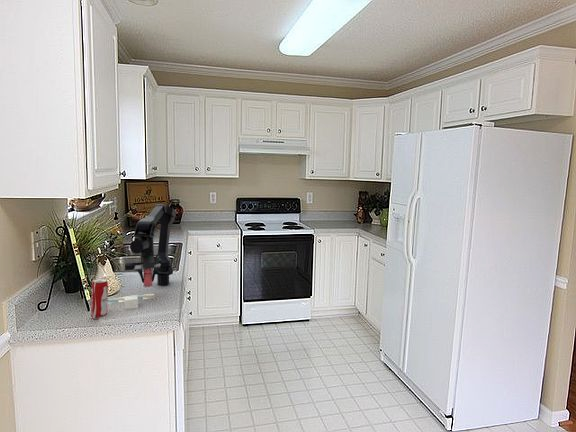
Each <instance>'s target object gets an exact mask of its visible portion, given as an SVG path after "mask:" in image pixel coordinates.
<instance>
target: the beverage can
mask: <svg viewBox="0 0 576 432" xmlns="http://www.w3.org/2000/svg"><path fill="white" fill-rule="evenodd" d="M108 285H109V283H108V280H107V279H106V278H96V279H93V280H92V283H91V294H90V295H91V298H90V299H91V302H90V306H91V307H90V317H91V319H95V320H99V318H101V317H104V316H106V315H108V304H107V299H108V295H109V294H108V292H109V291H108V290H109V286H108Z"/></svg>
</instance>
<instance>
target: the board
mask: <svg viewBox="0 0 576 432" xmlns="http://www.w3.org/2000/svg"><path fill="white" fill-rule="evenodd" d="M136 295H137V294H136ZM124 297H125V296H122V297H115V298H114V297H113V298H107V305H110V304H117V303H125V301H124ZM137 297H138V301H140V300H141V301H142V300H149V299H155V298H156V297H155V294H154V293H147V294H140V295H139V294H138V295H137Z"/></svg>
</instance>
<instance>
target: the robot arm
mask: <svg viewBox="0 0 576 432" xmlns="http://www.w3.org/2000/svg"><path fill="white" fill-rule="evenodd" d="M176 215H177V212H176V210H175V209H174V208H173V207H171V206H168V205H167V204H164V203H163V204H161V203H156V204H155V205H154V208H153V209H152V210H151V211H150V213H148V215H147V216H146V217H142V218H141V219H139V220H138V221H137V223H136V225H135V229H134V231H133V232H134V233H133V239H134V240H132V242H131V243H130V244H129V249H130V251H131V252H132V253H133V254H138V255H139V258H140V259H139V261H137V262H135V260H126V261H124V270H125V271H131V270H133V271H135V272H138V274H139V276H140V279H141V283H143V284H144V275H143V273H144V272H143V270H144V269H147V268H151V272H152V283H153V282H154V280H155V277H157V278H156V279H157V282H156V283H157V285H158V286H160V287H168V286H169V285H170V276H171V275H173V274H174V267H173V265H172V263H171V258H170V257H169V255H168V254H169V242H170V234H171V233H170V232H171V226H172V225H173V224H174V222H175V220H176ZM158 222H159V224H160V227H159V228H160V229H159V236H158V246H157V247H158V249H157V254H156V255H155V254H154V253H155V252H154V251H155V250H154V249H155V248H154V237H155V233H156V230H157V223H158Z"/></svg>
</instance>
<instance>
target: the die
mask: <svg viewBox="0 0 576 432" xmlns="http://www.w3.org/2000/svg"><path fill="white" fill-rule="evenodd" d="M123 297H124V301H125V302H124V309H125V310H134V309H138V308H139V300H138V297H137V294H134V295H126V296H123Z"/></svg>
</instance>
